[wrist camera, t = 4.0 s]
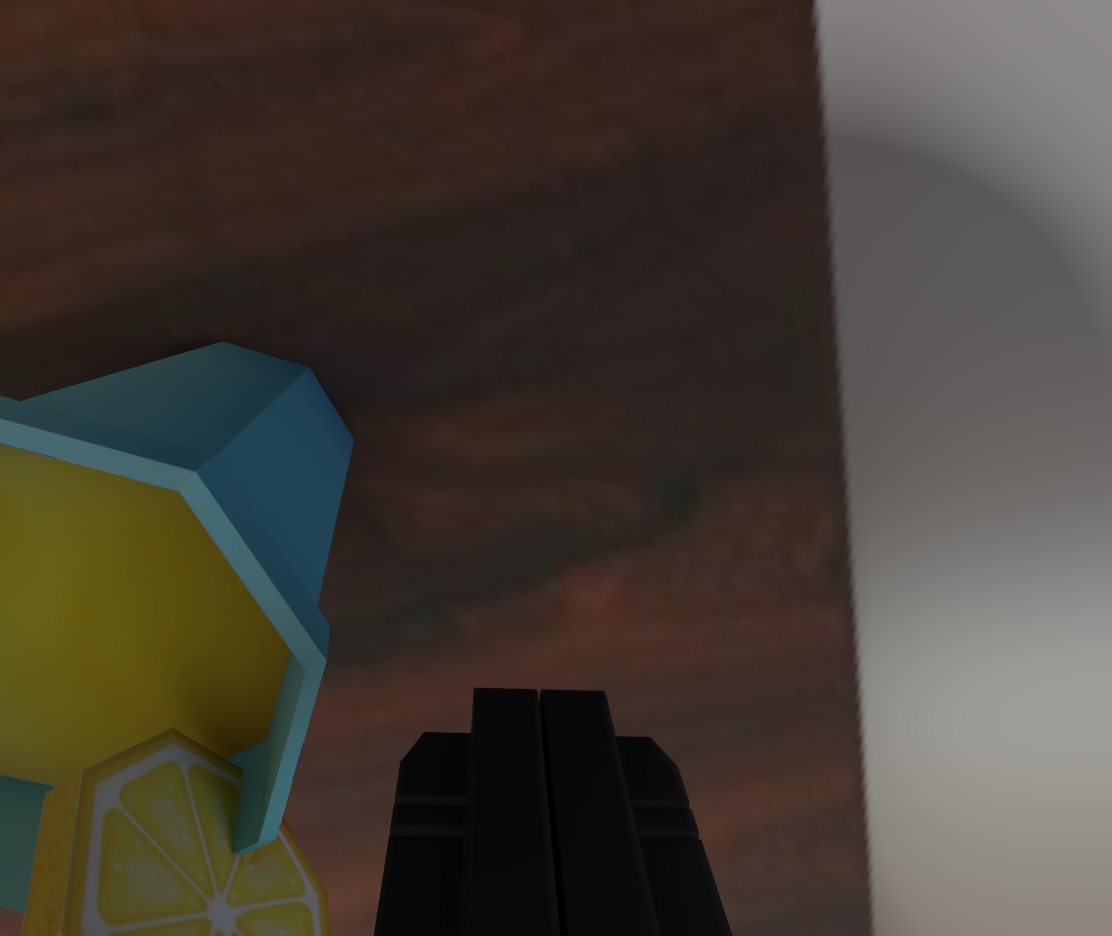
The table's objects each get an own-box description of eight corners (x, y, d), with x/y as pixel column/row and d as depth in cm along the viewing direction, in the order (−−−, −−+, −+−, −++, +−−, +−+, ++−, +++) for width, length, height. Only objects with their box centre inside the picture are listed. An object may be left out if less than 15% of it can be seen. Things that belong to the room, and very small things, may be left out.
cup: (-147, 364, 20) (-1743, 833, 6) (34, 86, 18) (-1535, -220, 4) (351, 692, 23) (135, 1482, 9) (537, 483, 22) (619, 1045, 8)
